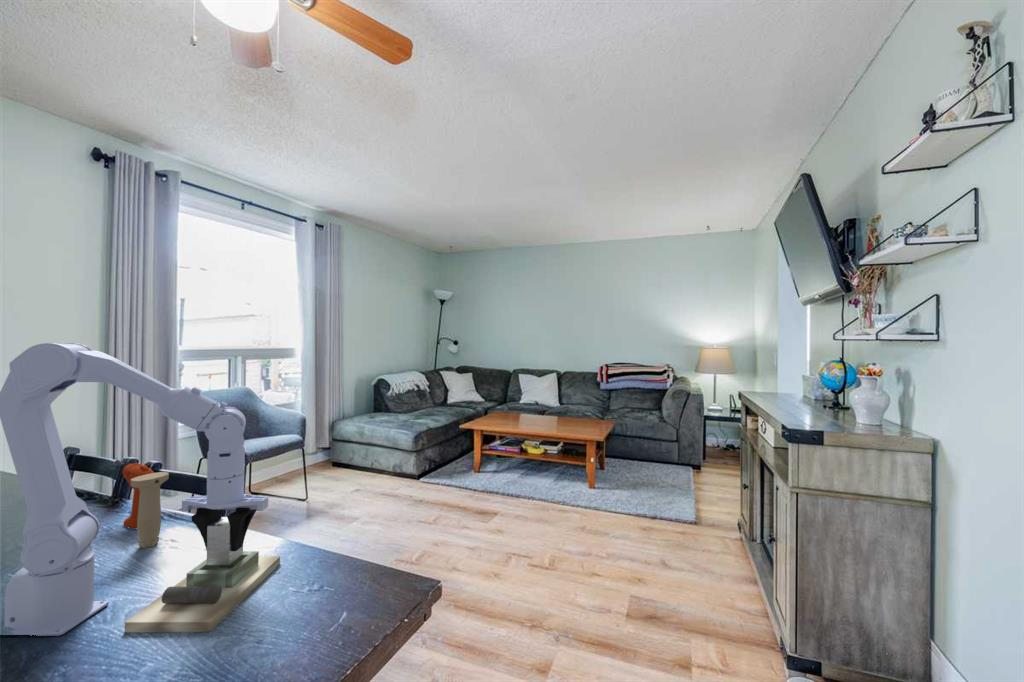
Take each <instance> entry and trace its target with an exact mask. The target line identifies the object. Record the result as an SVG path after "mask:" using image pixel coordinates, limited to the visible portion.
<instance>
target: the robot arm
mask: <svg viewBox="0 0 1024 682" xmlns="http://www.w3.org/2000/svg"><path fill="white" fill-rule="evenodd" d="M8 365H9V372H8V374H7V377H6V379H5V380H4V383H3V386H2V387H1V390H0V422H1V426H2V429H3V432H4V435H5V438H6V442H7V446H8V449H9V452H10V456H11V459H12V462H13V465H14V469H15V472H16V476H17V479H18V481H19V486H20V488H21V493H22V496H23V499H24V502H25V506H26V510H27V512H28V515H27V518H26V520H25V524H24V527H23V530H22V536H23V541H24V542H23V543H24V545H23V548H22V550H21V553H20V557H19V558H20V563H21V566H22V568H21V569H18V571H17V572H16V573H14V574H13V576H12V577H11V578H10V580H9V581H8V583H7V586H6V588H5V592H4V593H5V595H4V596H5V597H4V627H5V626H6V627H11V628H13V629H15V630H14V631H15V632H14V634H19V635H30V636H31V637H34V636H35V635H36V636H37V637H42V636H43V637H47V636H48V637H53V636H56V637H58V636H61V635H64V634H66V633H67V632H69V631H70V630H71V629H73V628H75V627H77V626H78V625H79V624H81V623H82V622H84V621H85V620H87V619H89V618H90V617H91V616H93V615H94V614H96V613H97V612H99V611H100V610H103V608H105V607H106V606H108V605H109V604H110V601H109V600H94V599H95V597H94V596H95V595H94V592H95V590H94V589H95V551H94V549H93V548H92V546H91V544H92V542H93V541H94V540H95V539H96V538H97V536H98V534H99V533H100V528H101V525H100V521H99V519H98V518H97V517H96V516H95V515H94V514H93V513H91V512H90V511H89V509H88V506H87V503H86V502H85V501H84V500H83V499H82V498H80V497H78V495H77V494H76V491H75V487H74V483H73V479H72V476H71V473H70V469H69V465H68V461H67V459H66V456H65V453H64V449H63V446H62V442H61V438H60V435H59V431H58V428H57V423H56V421H55V417H54V414H53V411H52V406H51V405H52V403H53V402H55V400H56V399H57V398H58V397H59V396H61V394H63V393H64V392H65V391H66V390H67V389H68V388H69V387H71V386H73V385H74V384H77V383H107V384H110V385H112V386H115V387H117V388H119V389H122V390H124V391H126V392H128V393H131V394H134V395H136V396H138V397H140V398H143V399H146V400H148V401H150V402H152V403H155V404H157V405H158V406H159V410H160V412H161V415H162V416H164V417H166V418H168V419H171V420H172V421H175V422H177V423H179V424H181V425H184V426H186V427H188V428H190V429H192V430H195V431H197V432H204V435H205V437H206V438H207V440H208V451H207V455H206V456H207V459H206V460H207V462H206V463H207V465H206V495H200V496H189V497H187V498H185V499H183V500H182V501H181V511H182V512H188V511H190V510H192V511H193V510H195V514H193V515H191V517H190V518H191V522H192V523H193V524H194V525H195V526H196V528H197V529H198V531H199V533H200V535H201V537H202V540H203V542H204V547H205V550H206V551H207V526H208V525H210V524H212V523H213V522H215V521H216V520H218V519H220V518H221V517H222V514H223V510H231V511H232V510H233V512H232V513H230V514H229V515H227V517H228V521H229V524H230V528H231V546H232V551H237V550H238V549H240V548H241V547H242V546H243V547H244V541H245V537H246V534H247V531H248V528H249V525H250V524H251V522H252V520H253V517H254V516H255V514H256V512H257V511H258V512H262V511H264V510H266V509H267V508H268V507H269V496H263V495H262V496H259V495H255V494H247V493H245V459H246V458H245V455H246V454H245V447H244V444H245V438H244V433H245V429H246V424H247V423H246V422H247V418H246V416H245V415H244V413H243V412H242V411H241V410H239V409H238V408H237V407H234V406H227V405H228V403H226V402H224V401H221V402H218V401H216V400H215V399H212V398H211V397H208V396H206V395H204V394H202V393H201V392H202V389H200V388H199V387H197V386H194V387H192V388H190V387H188V386H180V387H175V388H172V387H171V386H168V385H167V384H165V383H163V382H161V381H159V380H157V379H155V378H154V377H152V376H150V375H148V374H146V373H145V372H142V371H140V370H138V369H137V368H135V367H133V366H131V365H129V364H127V363H126V362H124V361H122V360H120V359H118V358H116V357H114V356H112V355H109V354H107V353H105V352H104V351H103V352H102V351H99V350H93V349H92V348H91V347H89V346H87V345H85V344H82V343H77V342H69V343H67V342H65V343H53V342H45V343H39V344H38V343H37V344H34V345H32V346H30V347H28V348H26V349H25V350H24V351H23V352H21V353H20V354H19V355H17V356H16V357H15V358H14V359H12V360H11V361H10V362H9V364H8ZM234 510H235V511H234ZM32 635H34V636H32ZM30 636H29V637H30ZM36 636H35V637H36Z"/></svg>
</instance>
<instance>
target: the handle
mask: <svg viewBox="0 0 1024 682" xmlns="http://www.w3.org/2000/svg"><path fill="white" fill-rule="evenodd" d="M169 476H170V473H169V472H167V471H165V472H164V471H159V472H154V473H151V474H146V475H142V476H138V477H135V478H133V479H131V486H133V487H136V488H139V490H140V497H139V509H138V518H137V529H136V531H137V533H136V534H137V537H138V538H137V539H138V543H137V544H138V547H139V548H142V549H145V548H150V547H154V546H155V545H157V544H158V543H159V542H160V533H161V524H162V510H161V509H162V505H161V486H162V484H164V483H165V482H167V481H168V480H169V478H170V477H169ZM131 486H130V487H131Z"/></svg>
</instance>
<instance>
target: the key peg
mask: <svg viewBox="0 0 1024 682" xmlns="http://www.w3.org/2000/svg"><path fill="white" fill-rule="evenodd" d="M243 551H244V545H243V546H242V547H241V548H240V549H238V550H237V551H232V546H231V528H230V524H229V521H228V516H221V518H220V519H218V520H216V521H215V522H213V523H212V524H210V525H208V526H207V550H206V559H207V565H230V564H231V563H232V562H234V561H235V560H236V559H237V558H239V557H240V556H241V555H242V554H243Z"/></svg>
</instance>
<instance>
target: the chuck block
mask: <svg viewBox="0 0 1024 682" xmlns="http://www.w3.org/2000/svg"><path fill="white" fill-rule="evenodd" d="M280 564H281V556H280V555H279V556H278V555H277V556H274V555H271V556H269V555H267V556H262V555H261V556H260V555H259V551H258V550H257V551H256V550H255V551H253V550H250V551H244V550H243V554H242V555H241V556H240V557H239V558H237V559H236V560H235V561H234V562H232V563H231V564H230V565H207V558H206V559H205V560H203V561H202V562H201V563H200V564H198V565H197V566H195V567H194V568H192V569H191V570H190V571H188V572H187V573H186V577H185V578H183V579H182V580H180V581H179V582H177V583H176V584H175V585H174V586H168V587H166V589H165V590H164V591H163V593H162V594H161V595H160V596H159V597H157V598H155V600H152V601H151V603H149V604H147V606H145V607H144V608H142V609H141V610H140V611H139V612H137V613H136V614H134V615H133V616H131V617H130V618H129V619H127V620H126V621H125V622H124V633H201V632H202V633H204V632H205V633H208V632H210V633H211V632H212V631H213V630H214V629H216V628H217V626H219V625H220V623H222V621H223V620H224V619H225V618H227V617H228V616H229V615H230V614H231V613H232V612H233V611H234V610H235V609H236V608H237V607H238V606H239V605H240V604H241V603H242V602H243V601H244V600H245V599H246V598H247V597H248V596H249V595H250V594H251V593H252V592H253V591H254V590H255V589H256V588H257V587H258V586H259V585H260V584H261V583H262V582H263V581H264V580H265V579H267V577H269V576H270V575H271V574H272V573H273V572H274V571H275V569H276V568H278V566H280Z"/></svg>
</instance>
